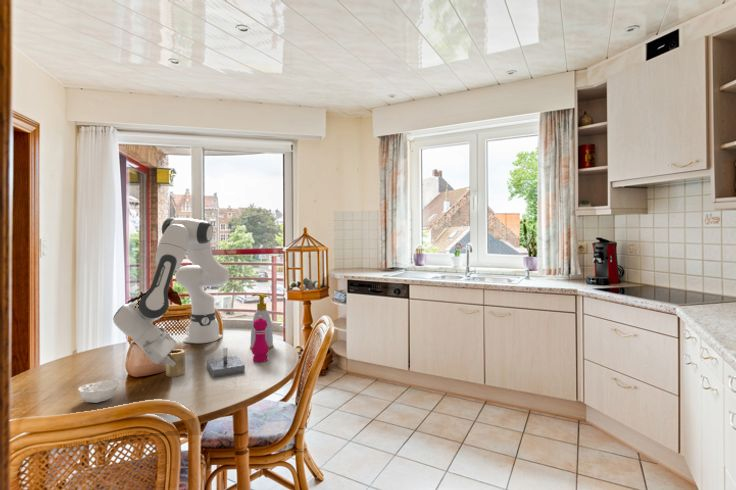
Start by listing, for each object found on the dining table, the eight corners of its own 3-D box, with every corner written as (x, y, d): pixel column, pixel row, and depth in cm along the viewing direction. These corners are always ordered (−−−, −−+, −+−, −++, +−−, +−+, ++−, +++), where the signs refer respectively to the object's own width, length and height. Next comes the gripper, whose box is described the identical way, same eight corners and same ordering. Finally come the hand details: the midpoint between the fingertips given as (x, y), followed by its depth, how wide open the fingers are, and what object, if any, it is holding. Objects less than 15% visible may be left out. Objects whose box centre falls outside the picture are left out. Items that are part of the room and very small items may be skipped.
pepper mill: (264, 363, 174) (264, 317, 173) (248, 362, 175) (248, 316, 174) (271, 358, 181) (271, 313, 180) (256, 356, 182) (256, 313, 182)
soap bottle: (261, 343, 204) (261, 291, 203) (278, 346, 198) (278, 293, 197) (244, 348, 195) (244, 294, 194) (261, 352, 189) (261, 297, 188)
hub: (169, 371, 163) (169, 349, 162) (186, 370, 164) (186, 348, 164) (164, 377, 156) (164, 354, 156) (182, 376, 158) (182, 353, 157)
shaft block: (206, 367, 168) (206, 345, 168) (236, 362, 175) (236, 341, 174) (213, 377, 156) (213, 355, 156) (244, 372, 163) (244, 350, 162)
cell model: (89, 394, 140) (89, 375, 140) (125, 394, 141) (125, 375, 140) (70, 407, 130) (69, 387, 130) (108, 407, 130) (108, 386, 130)
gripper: (147, 339, 148) (176, 364, 150) (163, 326, 168) (189, 348, 170) (134, 352, 147) (163, 377, 150) (152, 337, 167) (177, 359, 170)
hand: (177, 361), depth 160 cm, fingers closed on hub, 6 cm apart
